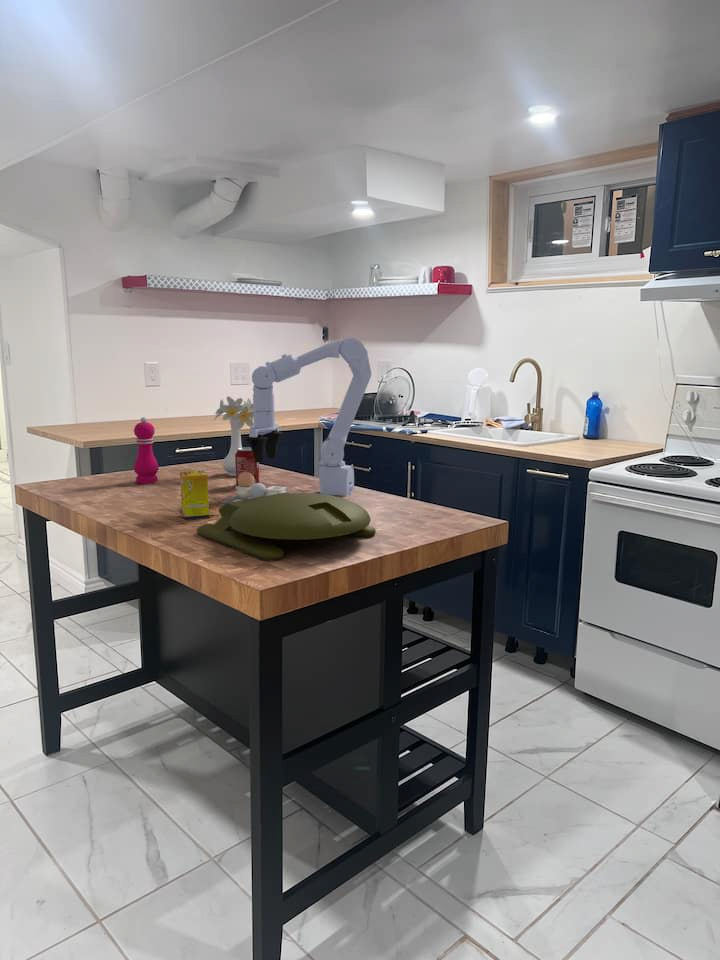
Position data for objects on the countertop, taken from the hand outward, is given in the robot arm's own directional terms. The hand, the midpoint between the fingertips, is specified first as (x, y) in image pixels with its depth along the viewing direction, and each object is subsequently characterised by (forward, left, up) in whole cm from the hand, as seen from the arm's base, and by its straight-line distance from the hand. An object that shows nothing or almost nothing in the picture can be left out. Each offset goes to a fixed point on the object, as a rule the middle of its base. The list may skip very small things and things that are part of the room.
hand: (265, 460), depth 194 cm
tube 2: (-6, +7, -9) cm, 13 cm away
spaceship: (-25, +36, -11) cm, 45 cm away
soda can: (+10, -7, -11) cm, 16 cm away
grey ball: (-2, +8, -7) cm, 11 cm away
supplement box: (+6, +27, -11) cm, 29 cm away
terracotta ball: (+3, +7, -5) cm, 9 cm away
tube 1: (+3, +7, -9) cm, 12 cm away
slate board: (-2, +8, -10) cm, 13 cm away
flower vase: (+23, -26, -11) cm, 36 cm away
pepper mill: (+43, -5, -11) cm, 45 cm away
